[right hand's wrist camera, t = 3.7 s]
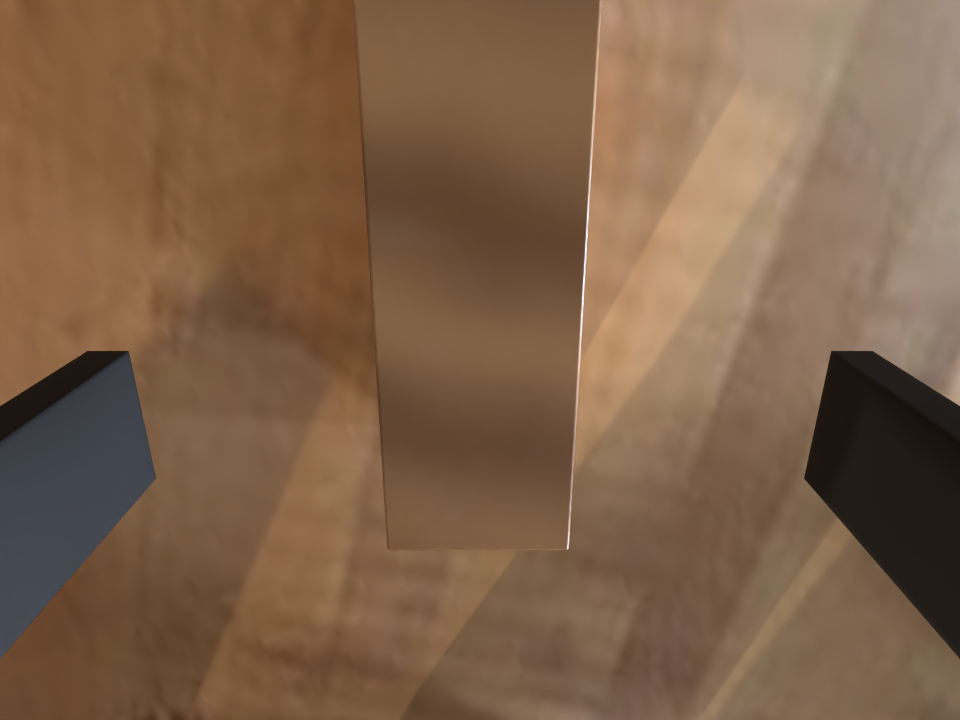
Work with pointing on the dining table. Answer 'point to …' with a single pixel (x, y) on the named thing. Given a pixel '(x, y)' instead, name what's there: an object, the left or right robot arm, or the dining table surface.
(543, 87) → the wooden beam
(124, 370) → the right robot arm
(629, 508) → the dining table surface
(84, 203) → the dining table surface
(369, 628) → the dining table surface
